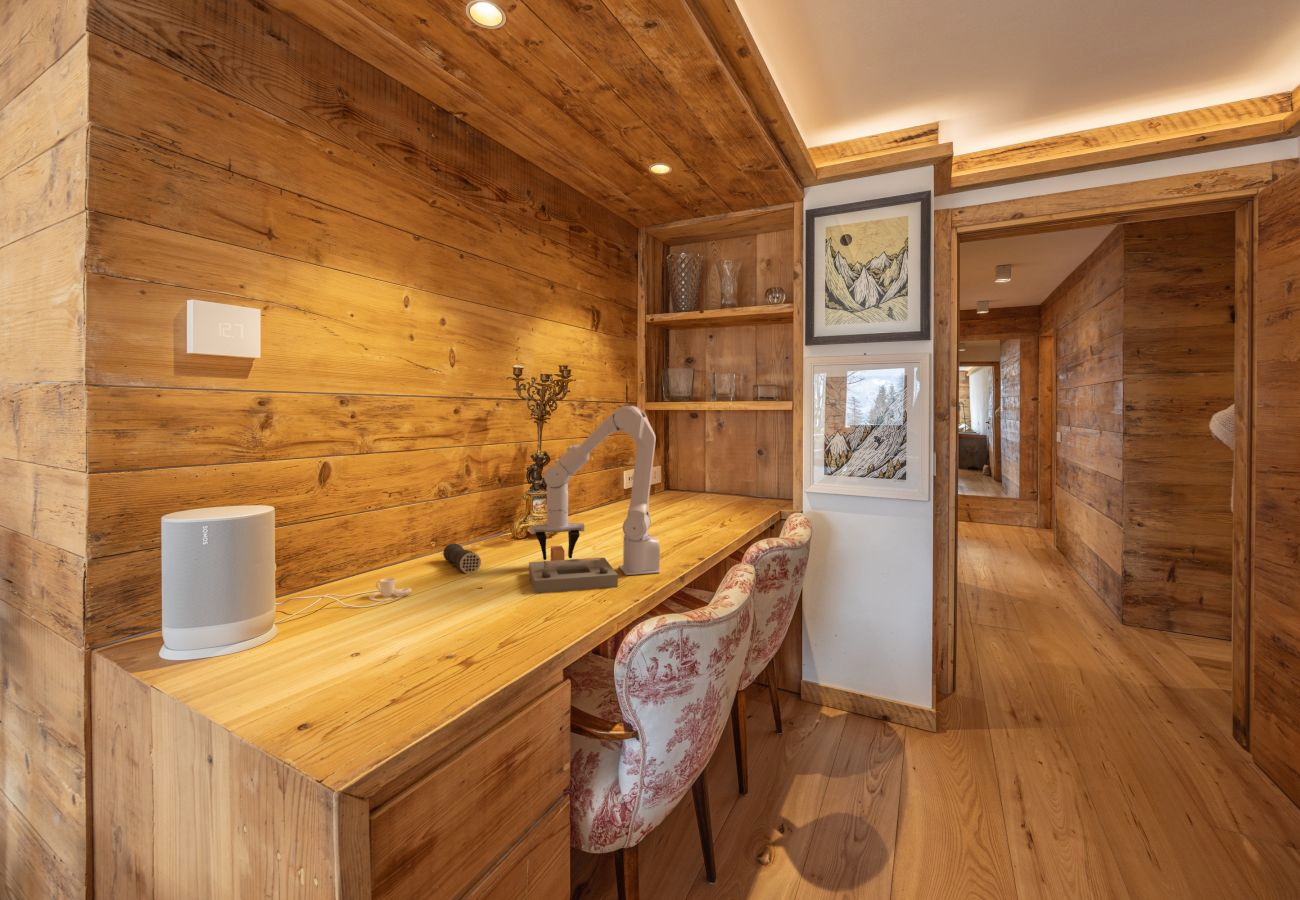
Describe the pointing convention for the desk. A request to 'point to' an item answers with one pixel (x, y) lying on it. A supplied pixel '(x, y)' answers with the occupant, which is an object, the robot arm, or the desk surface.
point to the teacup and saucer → (389, 590)
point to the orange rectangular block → (557, 553)
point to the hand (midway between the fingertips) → (557, 558)
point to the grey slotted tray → (572, 575)
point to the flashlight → (462, 558)
